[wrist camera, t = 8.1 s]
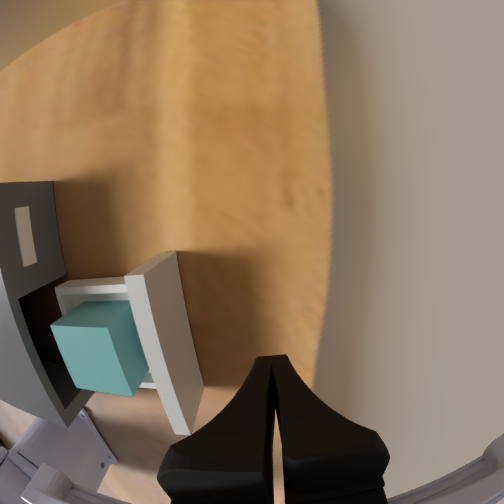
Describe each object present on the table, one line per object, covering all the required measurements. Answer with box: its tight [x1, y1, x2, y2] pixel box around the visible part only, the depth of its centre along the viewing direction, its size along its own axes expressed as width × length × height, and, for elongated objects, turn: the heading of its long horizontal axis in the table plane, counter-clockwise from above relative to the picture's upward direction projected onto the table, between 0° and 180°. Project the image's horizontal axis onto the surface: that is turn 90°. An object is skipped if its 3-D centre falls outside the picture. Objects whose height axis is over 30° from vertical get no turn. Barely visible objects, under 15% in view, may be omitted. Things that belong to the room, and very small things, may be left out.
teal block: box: [50, 300, 149, 396], centre depth 14 cm, size 4×4×4 cm
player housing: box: [0, 181, 95, 428], centre depth 14 cm, size 16×10×6 cm, turn 6°
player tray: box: [55, 251, 204, 435], centre depth 15 cm, size 10×9×5 cm
